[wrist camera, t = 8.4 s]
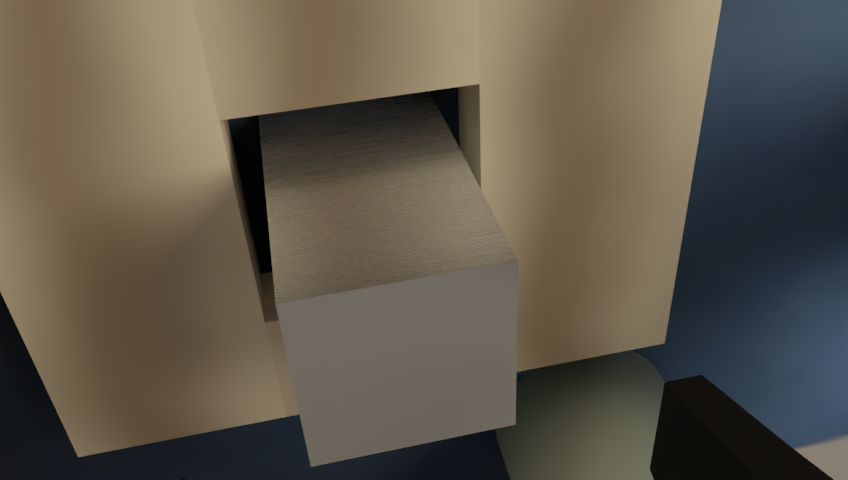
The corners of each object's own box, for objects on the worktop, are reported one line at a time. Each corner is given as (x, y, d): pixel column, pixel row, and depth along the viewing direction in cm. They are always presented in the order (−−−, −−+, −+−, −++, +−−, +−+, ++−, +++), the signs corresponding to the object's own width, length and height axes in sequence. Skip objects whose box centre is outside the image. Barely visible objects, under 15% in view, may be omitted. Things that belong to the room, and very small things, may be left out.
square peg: (428, 88, 19) (518, 261, 13) (436, 227, 21) (516, 424, 15) (258, 113, 18) (275, 303, 13) (285, 253, 20) (311, 466, 15)
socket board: (691, -129, 17) (740, -110, 15) (634, 299, 24) (664, 343, 22) (-104, -45, 15) (-143, -13, 13) (88, 400, 22) (78, 457, 20)
